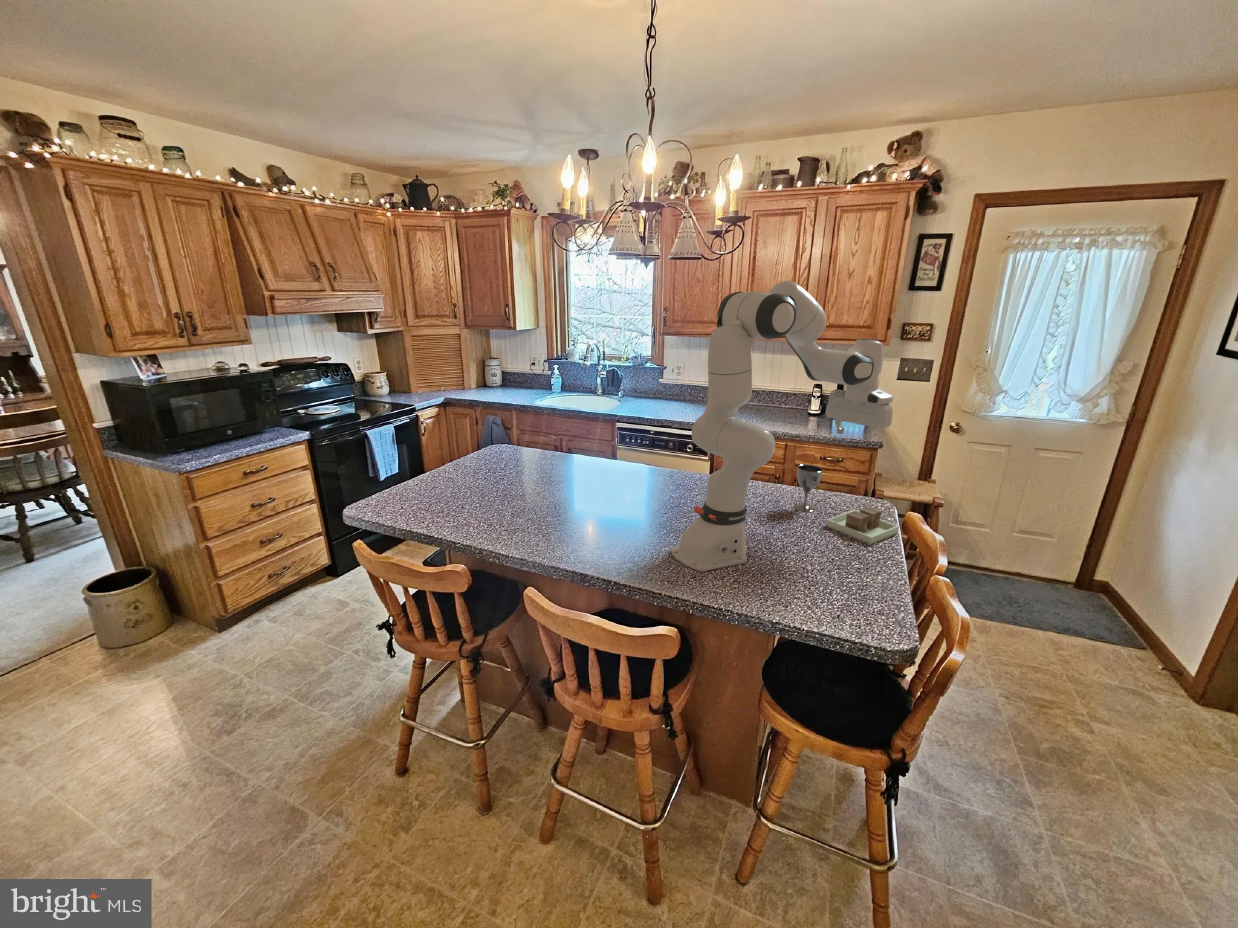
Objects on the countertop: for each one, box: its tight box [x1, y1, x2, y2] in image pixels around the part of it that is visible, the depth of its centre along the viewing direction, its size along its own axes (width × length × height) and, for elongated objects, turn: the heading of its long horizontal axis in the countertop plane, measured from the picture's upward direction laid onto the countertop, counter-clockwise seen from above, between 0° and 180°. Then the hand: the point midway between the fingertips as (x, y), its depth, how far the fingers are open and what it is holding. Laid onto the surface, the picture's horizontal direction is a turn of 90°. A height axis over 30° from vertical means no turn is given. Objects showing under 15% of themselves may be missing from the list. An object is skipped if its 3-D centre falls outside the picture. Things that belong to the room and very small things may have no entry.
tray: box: [825, 509, 900, 546], centre depth 159 cm, size 15×15×2 cm
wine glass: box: [793, 463, 823, 513], centre depth 173 cm, size 8×8×15 cm
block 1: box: [845, 510, 869, 533], centre depth 157 cm, size 4×4×6 cm
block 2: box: [859, 506, 882, 530], centre depth 160 cm, size 4×4×6 cm
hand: (853, 436), depth 157 cm, fingers open, 8 cm apart
